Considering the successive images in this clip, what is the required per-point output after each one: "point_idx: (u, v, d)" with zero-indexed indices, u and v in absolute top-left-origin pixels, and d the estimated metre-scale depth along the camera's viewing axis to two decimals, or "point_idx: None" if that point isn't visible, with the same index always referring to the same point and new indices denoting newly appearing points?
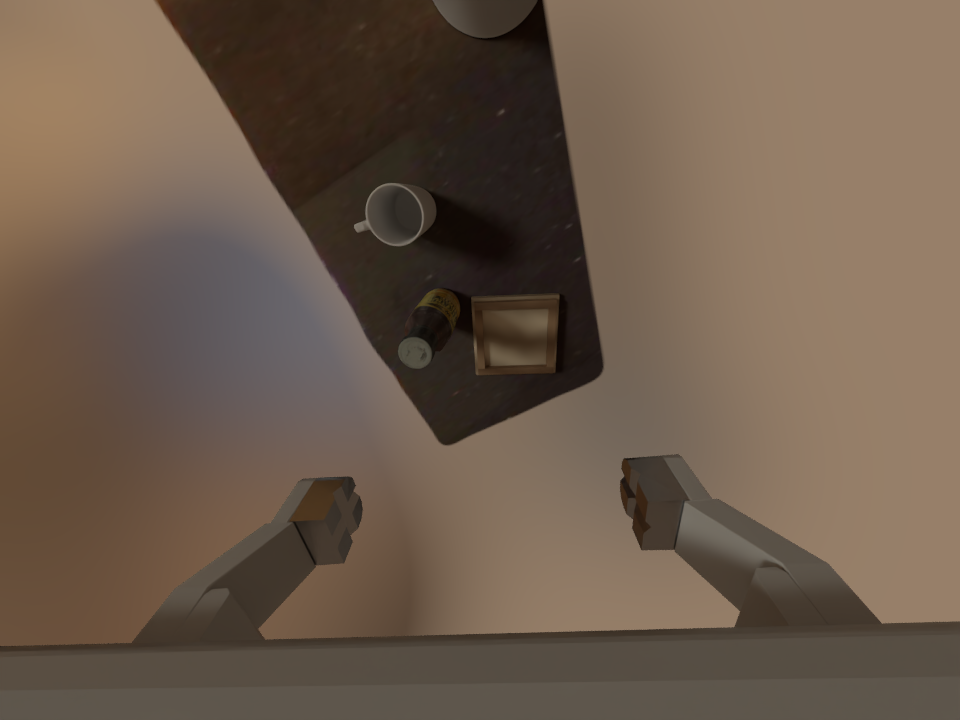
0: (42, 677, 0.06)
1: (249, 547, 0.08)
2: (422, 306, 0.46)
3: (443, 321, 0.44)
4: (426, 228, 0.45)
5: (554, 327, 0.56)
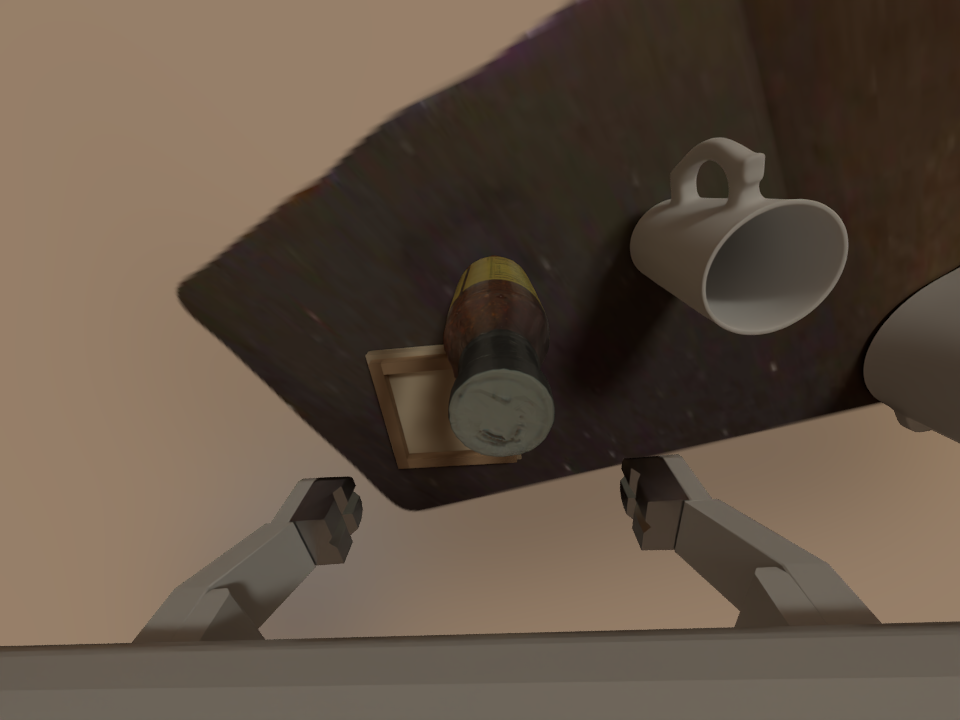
0: (42, 677, 0.06)
1: (249, 547, 0.08)
2: (546, 318, 0.20)
3: None
4: (677, 297, 0.23)
5: (474, 463, 0.37)
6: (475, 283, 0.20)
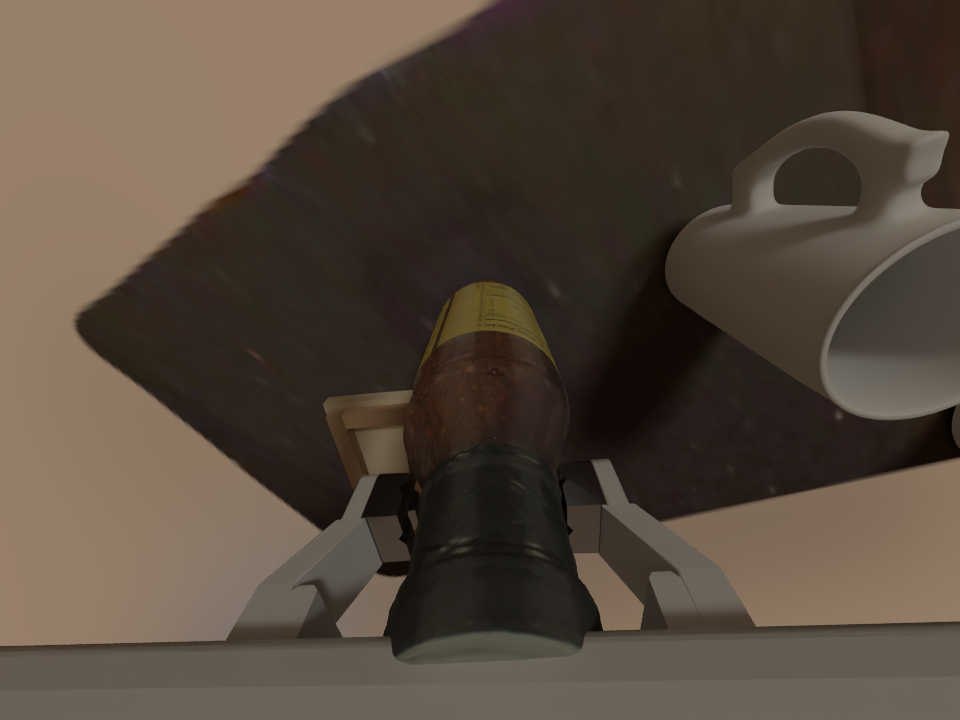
0: (42, 677, 0.06)
1: (326, 543, 0.08)
2: (565, 390, 0.13)
3: None
4: (746, 345, 0.16)
5: None
6: (456, 336, 0.13)
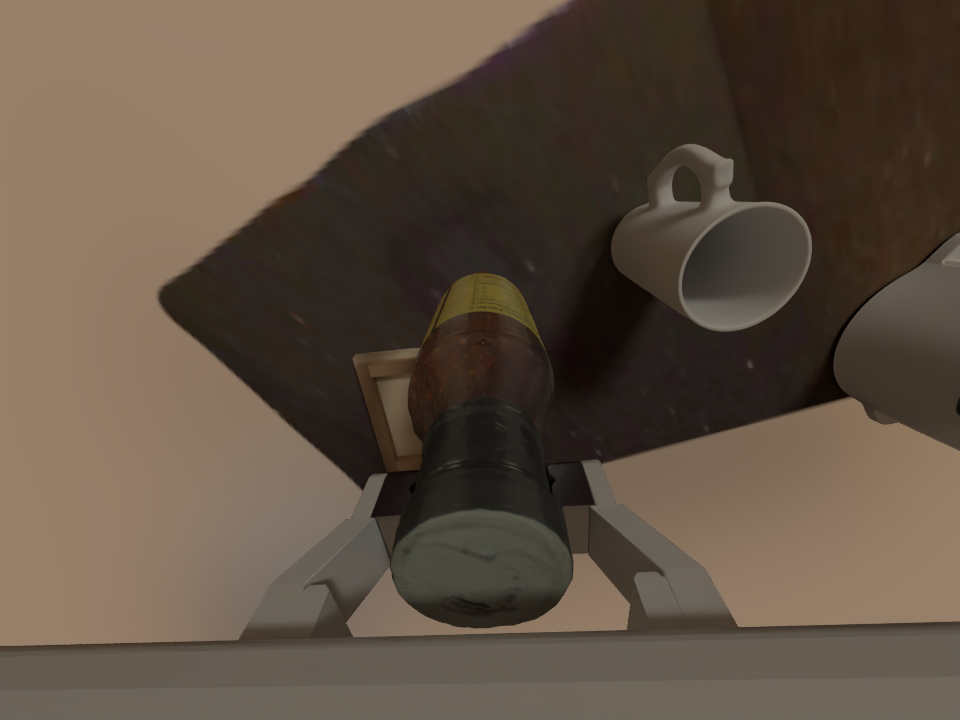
0: (42, 677, 0.06)
1: (336, 543, 0.08)
2: (549, 361, 0.15)
3: None
4: None
5: None
6: (451, 318, 0.15)
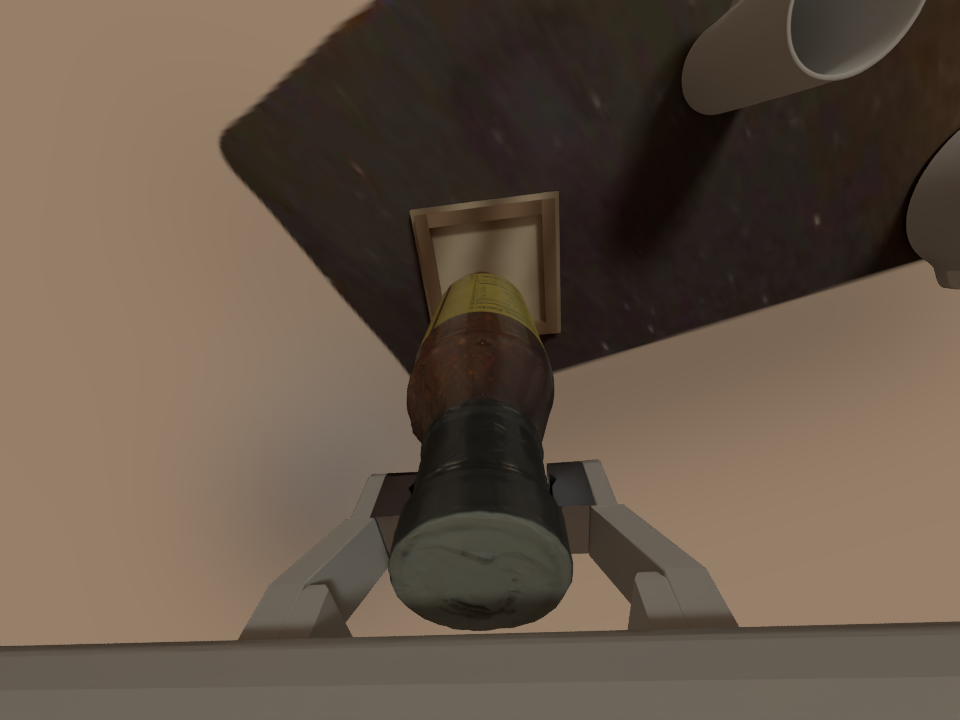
0: (42, 677, 0.06)
1: (335, 543, 0.08)
2: (548, 362, 0.15)
3: None
4: (742, 90, 0.23)
5: None
6: (450, 318, 0.15)
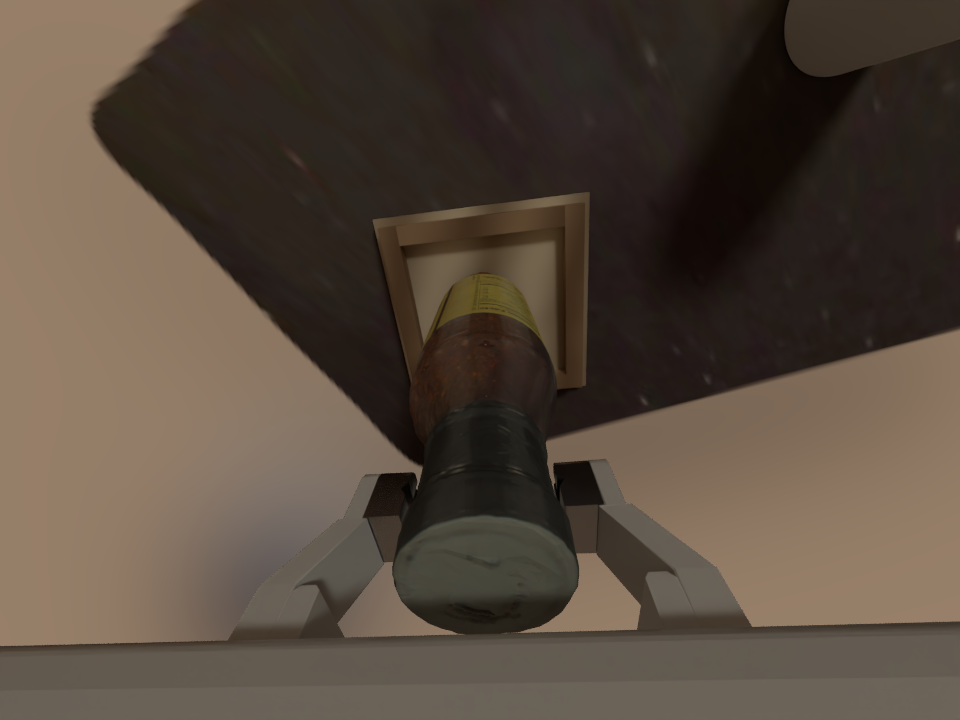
0: (42, 677, 0.06)
1: (327, 543, 0.08)
2: (551, 363, 0.15)
3: None
4: (932, 16, 0.13)
5: None
6: (452, 319, 0.15)
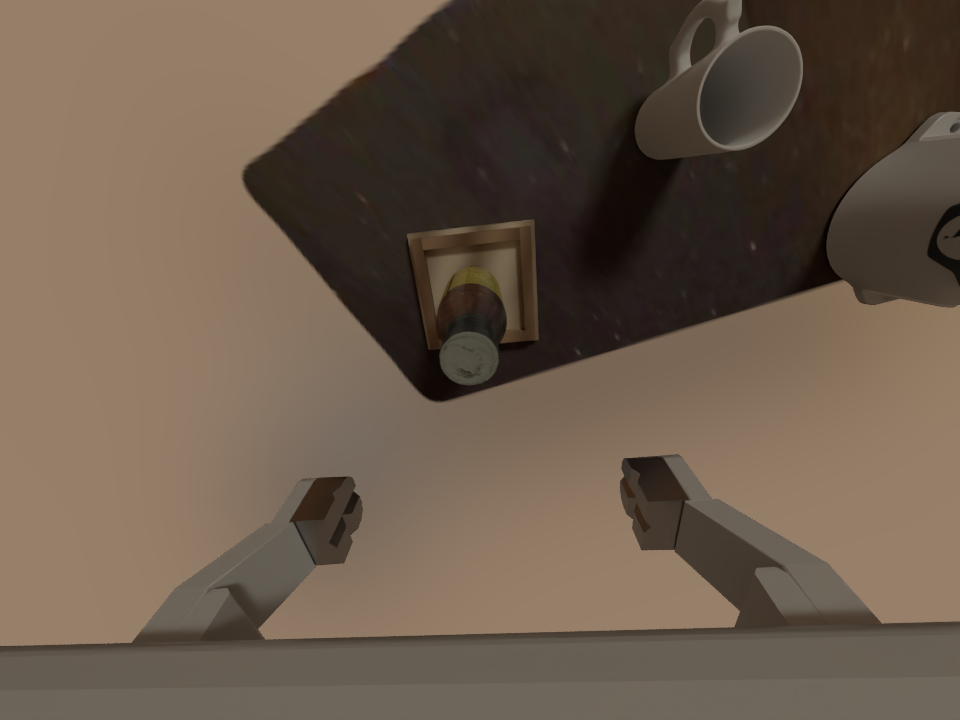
0: (42, 677, 0.06)
1: (249, 547, 0.08)
2: (504, 308, 0.30)
3: None
4: (675, 148, 0.29)
5: None
6: (456, 286, 0.30)
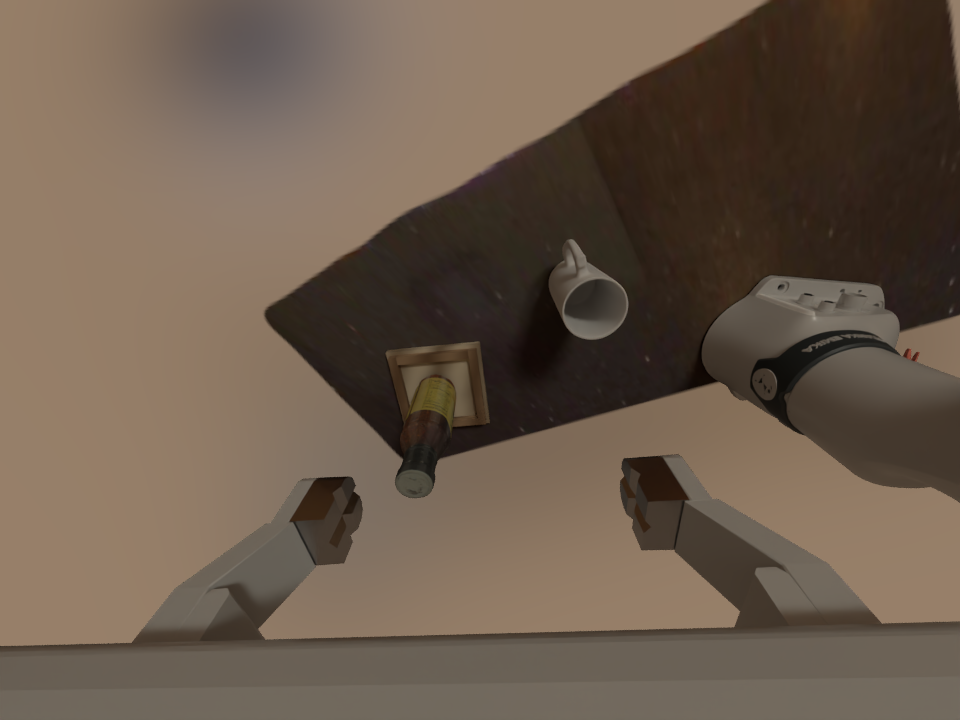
0: (42, 677, 0.06)
1: (249, 547, 0.08)
2: (448, 426, 0.43)
3: None
4: (566, 318, 0.42)
5: (457, 425, 0.55)
6: (415, 411, 0.43)
